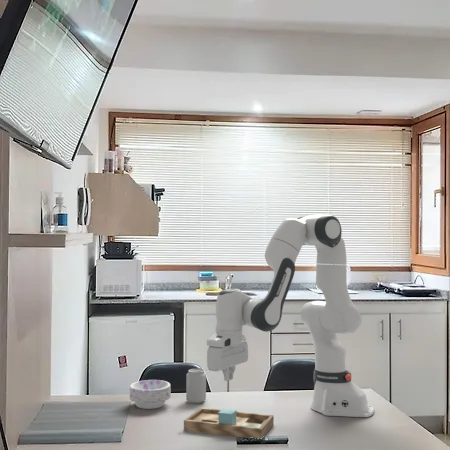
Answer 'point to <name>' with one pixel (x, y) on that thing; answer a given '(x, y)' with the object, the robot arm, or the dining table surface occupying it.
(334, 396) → the robot arm
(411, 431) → the dining table surface
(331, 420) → the dining table surface
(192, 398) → the can
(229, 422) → the block
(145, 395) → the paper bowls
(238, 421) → the wooden tray
